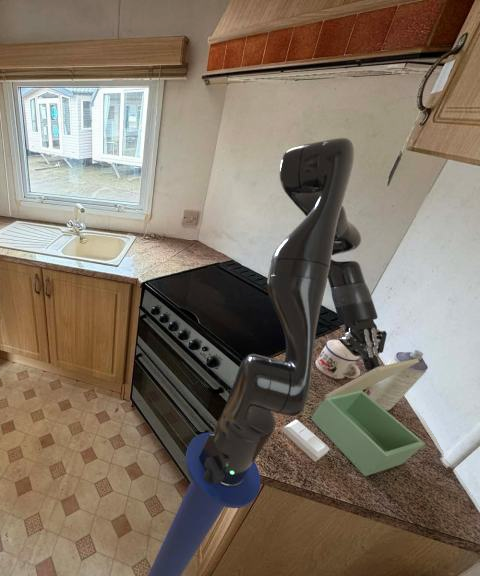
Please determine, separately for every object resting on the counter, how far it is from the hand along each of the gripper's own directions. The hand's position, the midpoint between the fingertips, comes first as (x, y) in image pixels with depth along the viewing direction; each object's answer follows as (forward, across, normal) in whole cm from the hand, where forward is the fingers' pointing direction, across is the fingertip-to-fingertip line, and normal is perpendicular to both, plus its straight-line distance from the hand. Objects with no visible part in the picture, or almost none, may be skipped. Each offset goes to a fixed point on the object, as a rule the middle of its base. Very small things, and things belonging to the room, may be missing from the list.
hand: (374, 372), depth 74 cm
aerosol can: (+12, -19, -16) cm, 28 cm away
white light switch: (+16, +14, -12) cm, 24 cm away
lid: (+2, 0, -1) cm, 3 cm away
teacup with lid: (+4, -16, -24) cm, 29 cm away
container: (+18, 0, -10) cm, 20 cm away
